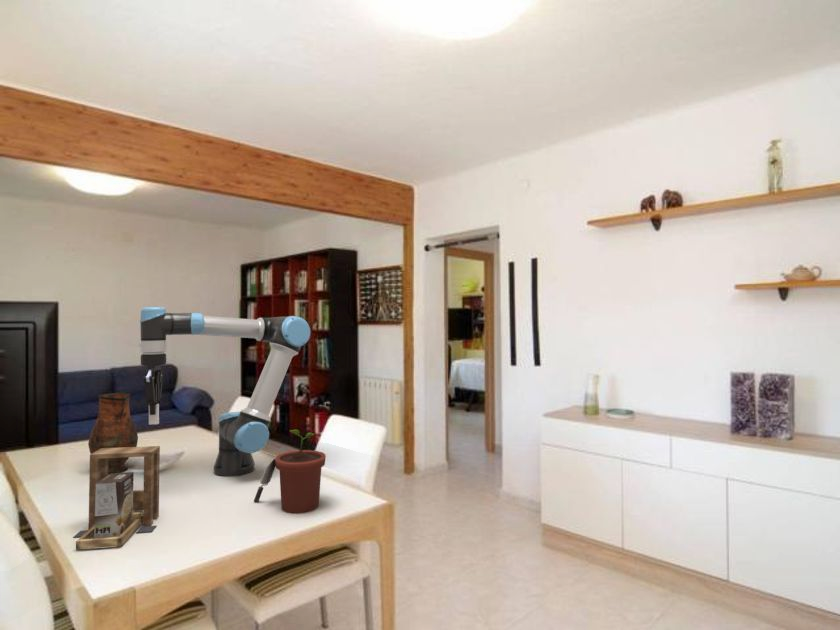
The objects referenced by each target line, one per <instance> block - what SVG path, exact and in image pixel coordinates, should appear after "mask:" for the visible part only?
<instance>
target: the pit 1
mask: <svg viewBox="0 0 840 630" xmlns="http://www.w3.org/2000/svg"><path fill="white" fill-rule="evenodd" d="M88 530H89V529H84V530H80V531H78V532H77V533H76V534H75V535H74V536H72V538H73V539H79V538H80V537H82V536H83V535H84V534H85V533H86V532H87V531H88Z"/></svg>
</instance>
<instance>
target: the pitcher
mask: <svg viewBox="0 0 840 630" xmlns="http://www.w3.org/2000/svg"><path fill="white" fill-rule="evenodd" d="M97 397H98V401H99V402H98V414H97V418H96V421H95V423H94V426H93V427H92V429H91V431H90V433H89V434H90V435H89V439H88V450H89V453H90V454H92V453H94V452H95V451H97V450H99V449H101V448H122V447H138V439H139V436H138V430H137V428H136V426H135V423H134V421H133V418H132V417H131V412H130V399H131V393H129V392H109V393H104V394H99V395H98V396H97ZM129 458H130V457H123V458H108V475H109V474H111V473H123V472H126V471H127V470H128V469H129V467H126V466H127V465H126V464H125V463H126V462H127V461H128V460H129ZM125 465H126V466H125Z"/></svg>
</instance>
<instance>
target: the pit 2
mask: <svg viewBox="0 0 840 630" xmlns="http://www.w3.org/2000/svg"><path fill="white" fill-rule="evenodd" d="M157 527H158V525H151V526H143V525H141V526H140V528H139V529H138V530H136V531H135V532H136V533H135V534H150V533H153V532H154V530H155V529H157Z"/></svg>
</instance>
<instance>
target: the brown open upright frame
mask: <svg viewBox="0 0 840 630" xmlns="http://www.w3.org/2000/svg"><path fill="white" fill-rule="evenodd" d="M160 450H161V447H160V445H150V446H149V445H148V446H137V447H122V448H101V449H99V450H97V451H95V452H94V453H92V454H91V453H90V454H89V481H88V482H89V486H88V487H89V488H88V489H89V492H88V494H89V495H88V530H89V529H91V528H92V527H93V526H94V525H95V490H96V484H95V483H96V482H98V481H99V480H101V479H103V478H104V477H106V476H107V475H109V474H108V458H123V457H129V458H141V457H143V490H144V492H143V511H142V512H143V523H142V526H153V524H154V520H157V519H158V518H159V517H160V513H159V512H160V464H161V463H160V458H161V455H160V454H161V453H160V452H161V451H160Z"/></svg>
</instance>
